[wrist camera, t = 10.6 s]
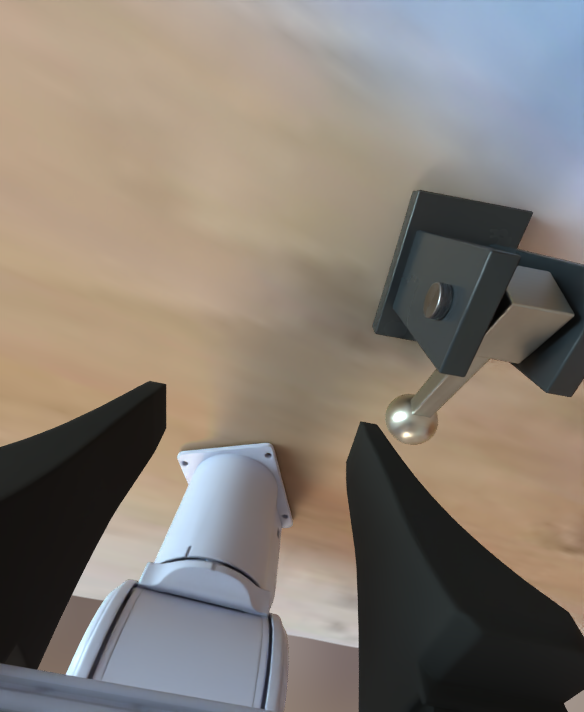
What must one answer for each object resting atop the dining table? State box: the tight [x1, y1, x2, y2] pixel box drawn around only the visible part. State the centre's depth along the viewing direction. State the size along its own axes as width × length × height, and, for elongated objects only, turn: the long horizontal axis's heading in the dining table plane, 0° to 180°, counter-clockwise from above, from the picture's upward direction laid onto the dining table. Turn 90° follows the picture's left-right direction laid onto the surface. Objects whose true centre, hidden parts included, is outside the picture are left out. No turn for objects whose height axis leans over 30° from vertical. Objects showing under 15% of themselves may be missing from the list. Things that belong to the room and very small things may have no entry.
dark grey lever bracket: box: [372, 190, 584, 397], centre depth 15 cm, size 8×6×9 cm
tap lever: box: [385, 266, 574, 445], centre depth 16 cm, size 12×3×3 cm, turn 170°
